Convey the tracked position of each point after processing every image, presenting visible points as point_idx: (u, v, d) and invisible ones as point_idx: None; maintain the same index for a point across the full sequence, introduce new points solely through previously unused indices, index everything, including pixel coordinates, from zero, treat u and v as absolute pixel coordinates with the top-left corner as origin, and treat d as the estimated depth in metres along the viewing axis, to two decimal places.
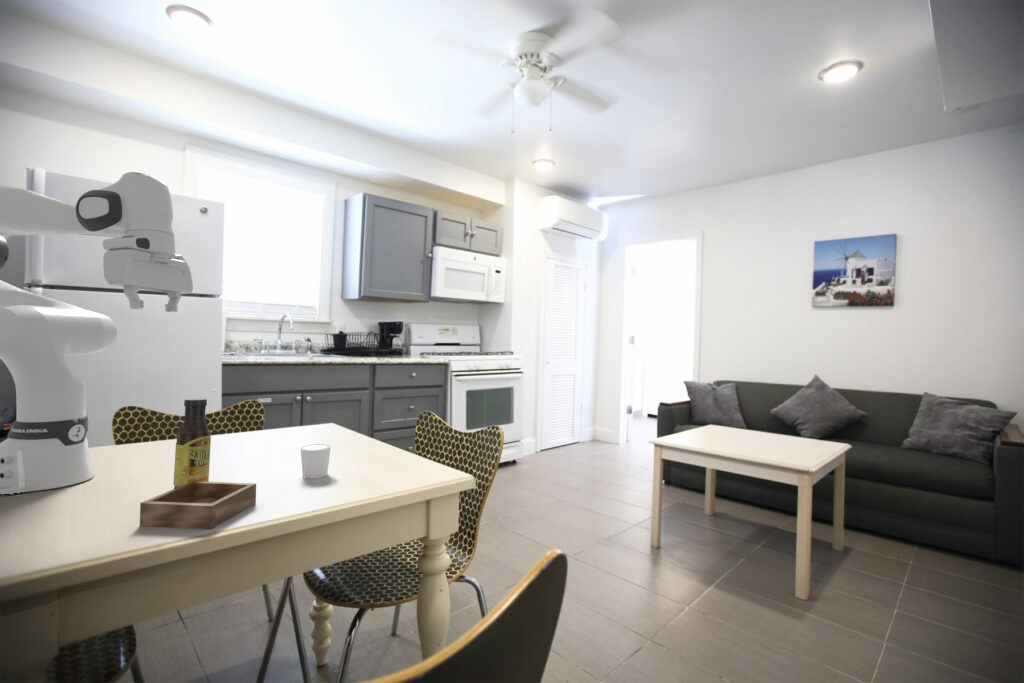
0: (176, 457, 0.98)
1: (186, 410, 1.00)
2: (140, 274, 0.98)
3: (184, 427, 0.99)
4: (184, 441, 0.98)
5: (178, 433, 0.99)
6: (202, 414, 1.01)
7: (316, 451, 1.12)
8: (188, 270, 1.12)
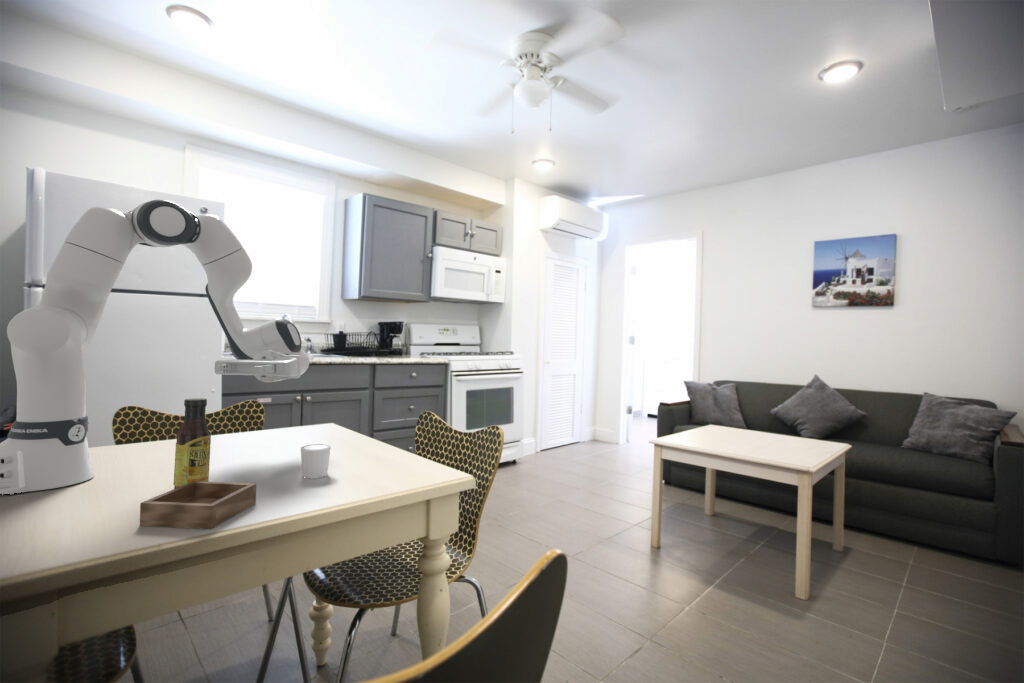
0: (176, 457, 0.98)
1: (186, 410, 1.00)
2: None
3: (184, 427, 0.99)
4: (184, 441, 0.98)
5: (178, 433, 0.99)
6: (202, 414, 1.01)
7: (316, 451, 1.12)
8: None
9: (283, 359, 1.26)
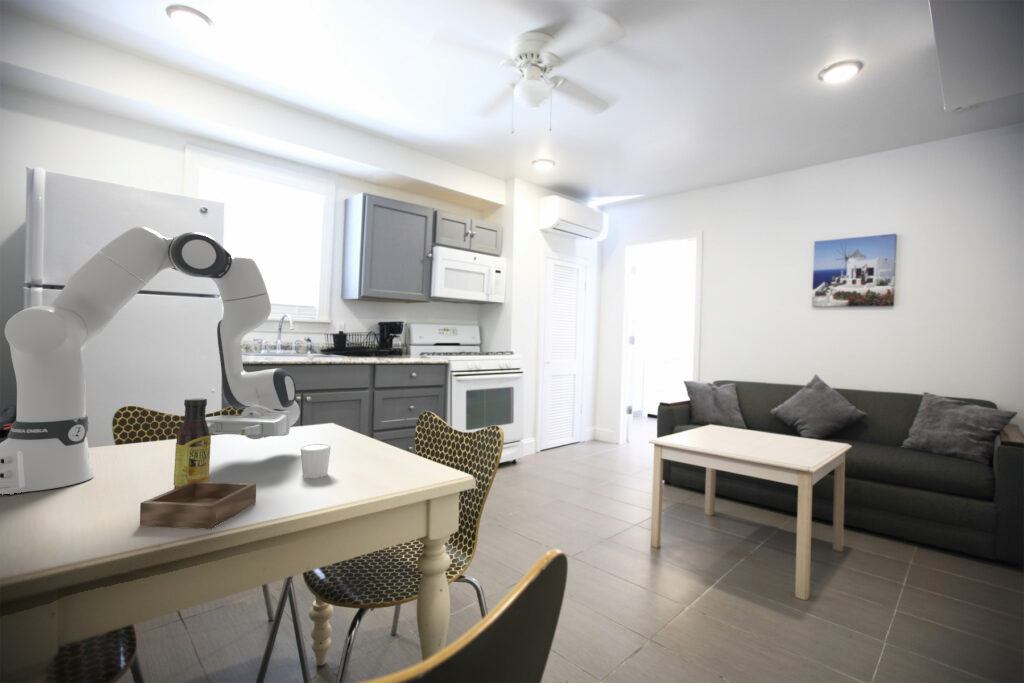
0: (176, 457, 0.98)
1: (186, 410, 1.00)
2: None
3: (184, 427, 0.99)
4: (184, 441, 0.98)
5: (178, 433, 0.99)
6: (202, 414, 1.01)
7: (316, 451, 1.12)
8: None
9: (271, 416, 1.22)
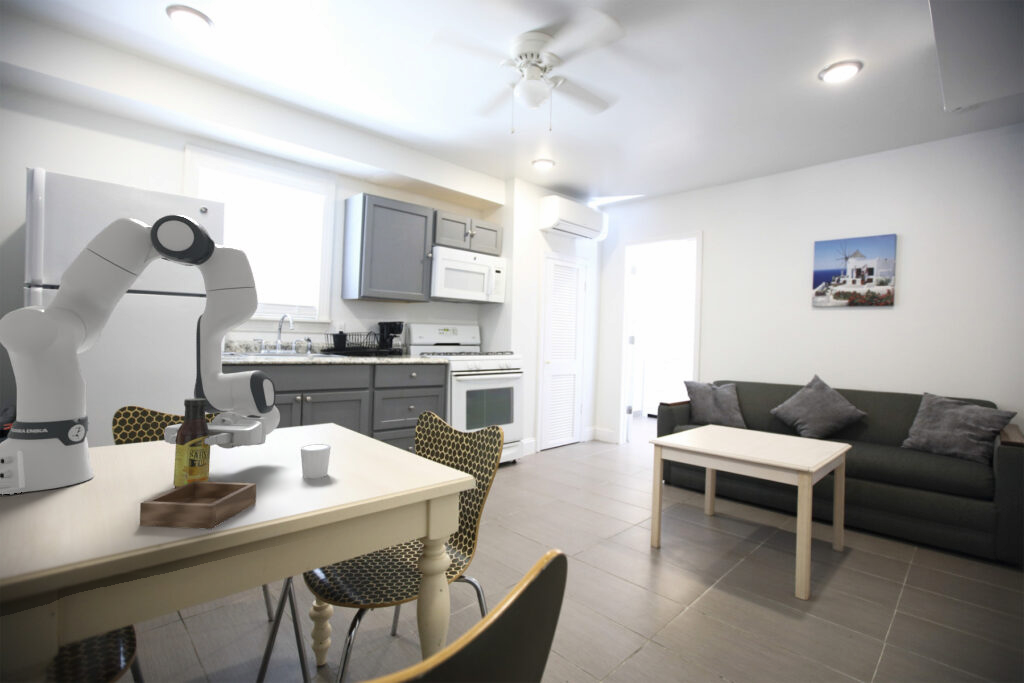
0: (176, 457, 0.98)
1: (186, 410, 1.00)
2: None
3: (184, 427, 0.99)
4: (184, 441, 0.98)
5: (178, 433, 0.99)
6: (202, 414, 1.01)
7: (316, 451, 1.12)
8: None
9: (245, 423, 1.10)
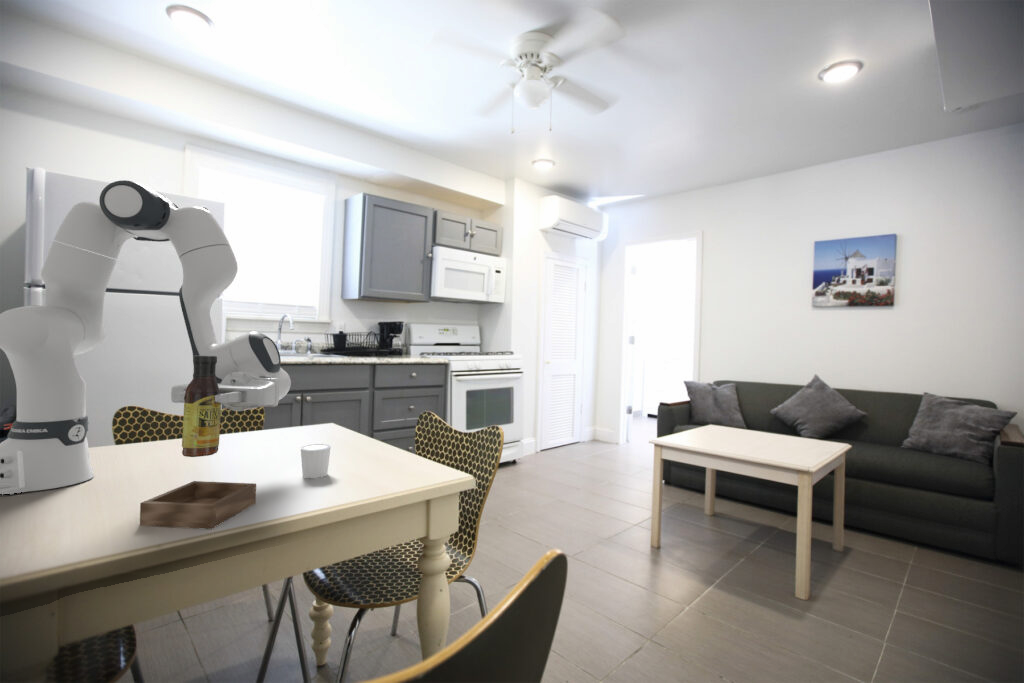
0: (185, 417, 0.92)
1: (195, 367, 0.93)
2: None
3: (193, 385, 0.92)
4: (194, 399, 0.91)
5: (187, 391, 0.92)
6: (212, 371, 0.94)
7: (316, 451, 1.12)
8: None
9: (257, 383, 1.04)
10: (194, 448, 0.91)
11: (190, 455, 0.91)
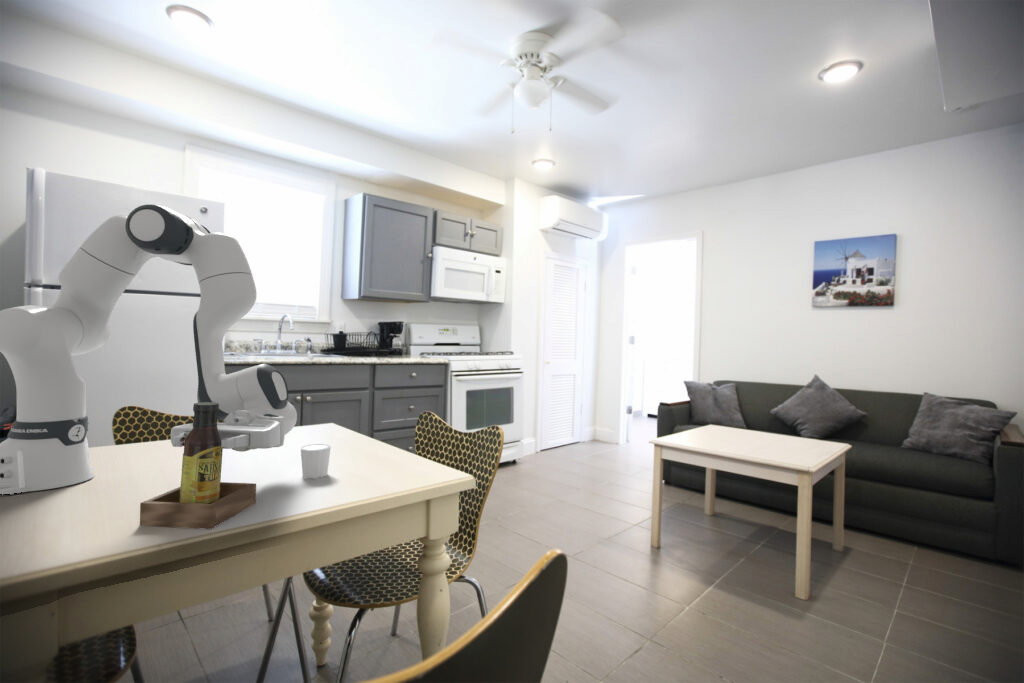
0: (183, 470, 0.85)
1: (195, 416, 0.87)
2: None
3: (193, 436, 0.86)
4: (193, 452, 0.85)
5: (186, 442, 0.86)
6: (213, 421, 0.88)
7: (316, 451, 1.12)
8: None
9: (261, 423, 0.98)
10: None
11: None
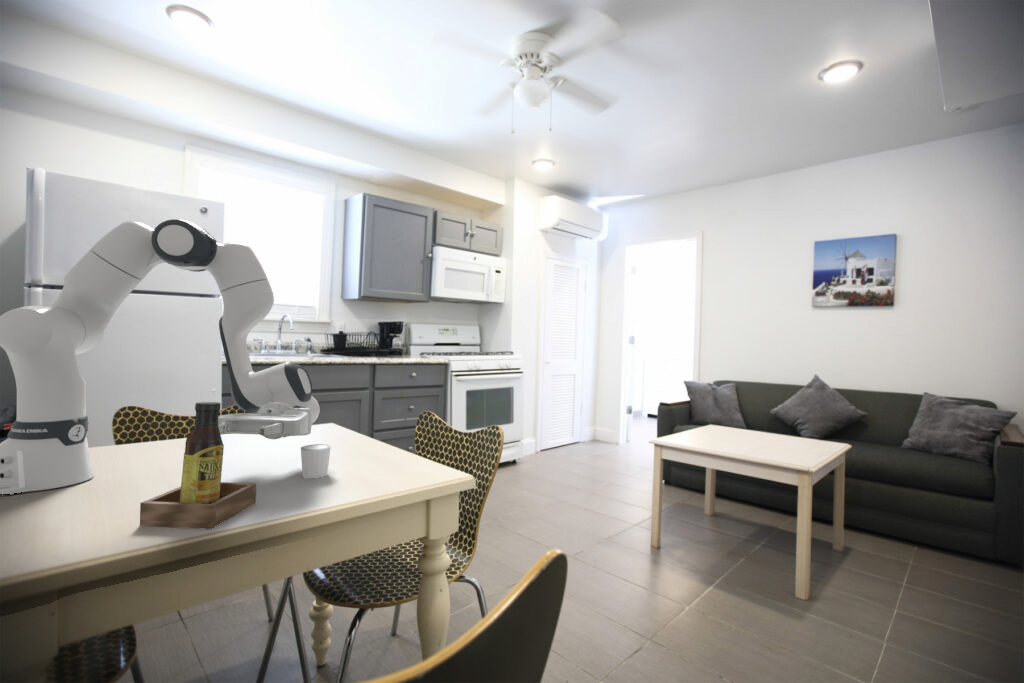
0: (184, 469, 0.86)
1: (197, 415, 0.87)
2: None
3: (194, 435, 0.86)
4: (194, 451, 0.86)
5: (187, 441, 0.86)
6: (215, 420, 0.89)
7: (316, 451, 1.12)
8: None
9: (292, 414, 1.10)
10: None
11: None
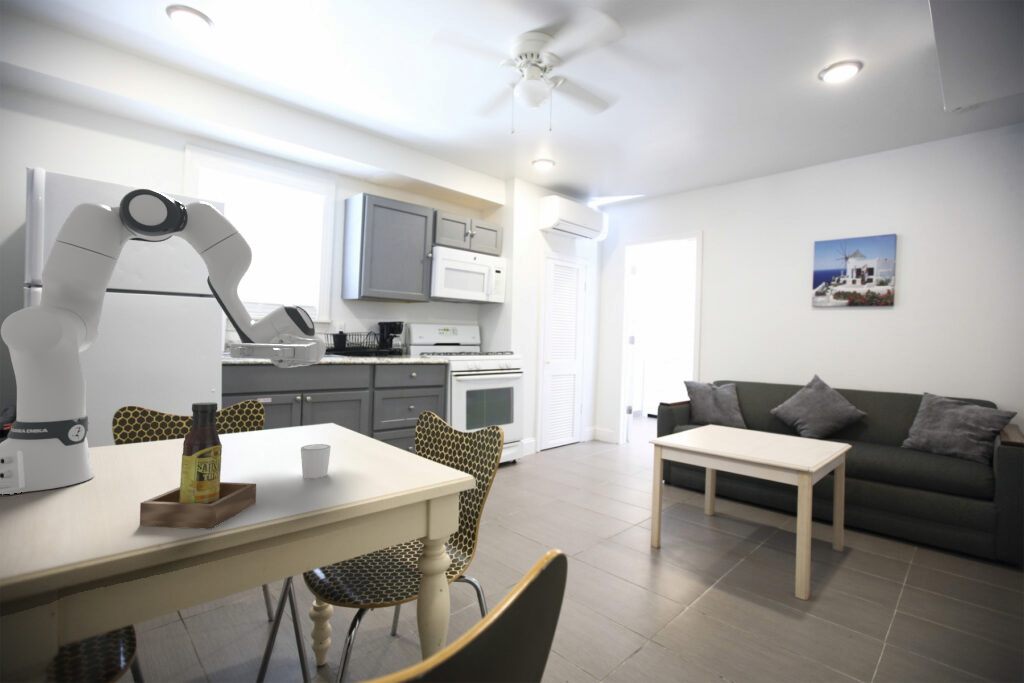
0: (182, 470, 0.86)
1: (194, 416, 0.87)
2: None
3: (191, 436, 0.86)
4: (192, 451, 0.85)
5: (185, 442, 0.86)
6: (212, 420, 0.88)
7: (316, 451, 1.12)
8: None
9: (302, 343, 1.20)
10: None
11: None
